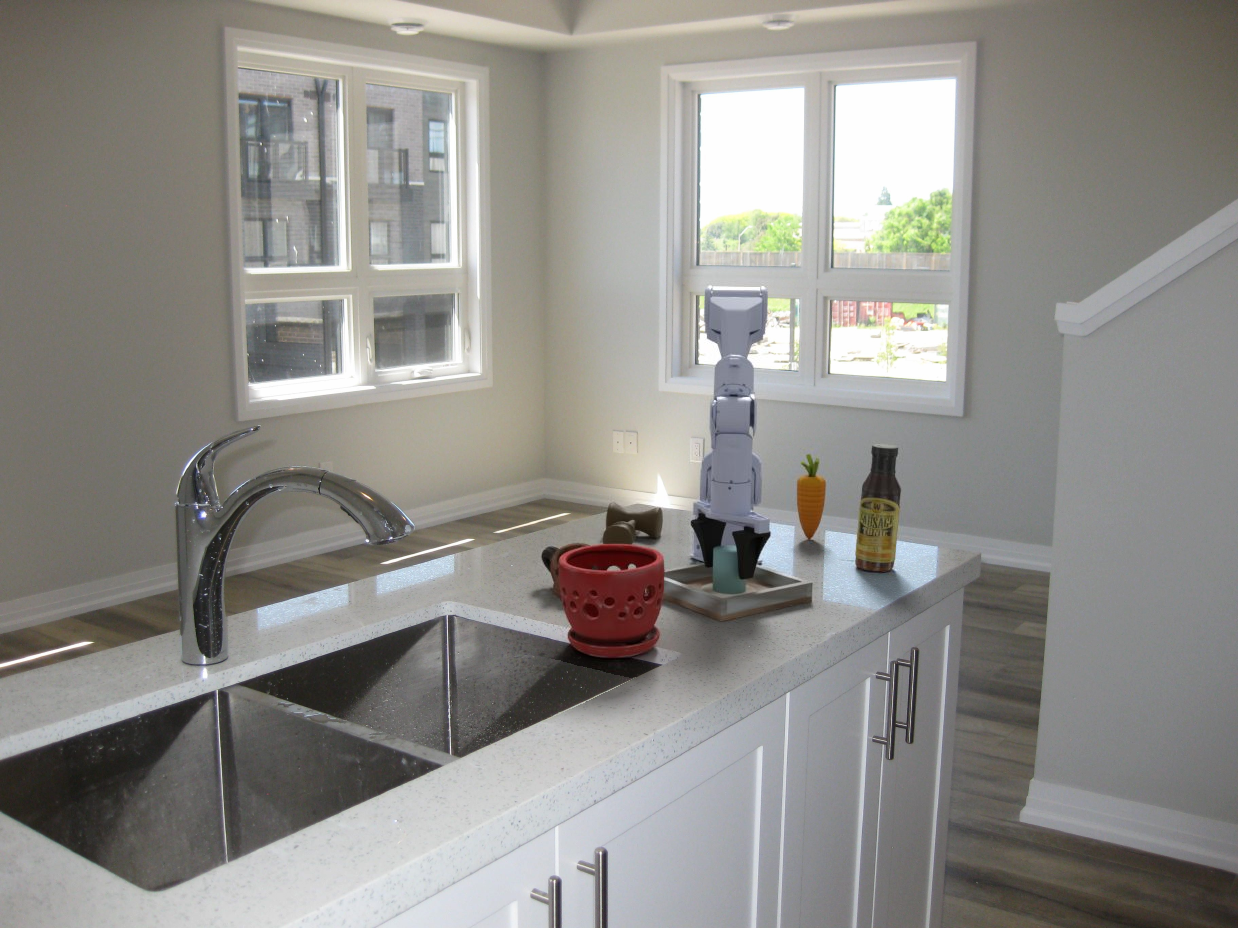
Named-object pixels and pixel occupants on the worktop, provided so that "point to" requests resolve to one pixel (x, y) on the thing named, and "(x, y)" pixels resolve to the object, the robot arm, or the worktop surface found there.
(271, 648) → the worktop surface
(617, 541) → the kendama
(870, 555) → the sauce bottle
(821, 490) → the carrot
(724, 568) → the teal cylinder
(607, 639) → the plant pot
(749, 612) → the corral
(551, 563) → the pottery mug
